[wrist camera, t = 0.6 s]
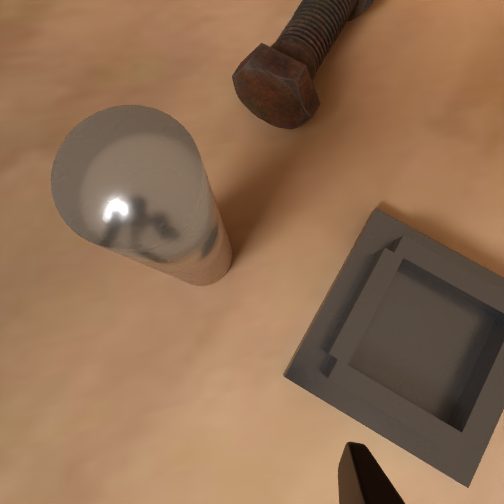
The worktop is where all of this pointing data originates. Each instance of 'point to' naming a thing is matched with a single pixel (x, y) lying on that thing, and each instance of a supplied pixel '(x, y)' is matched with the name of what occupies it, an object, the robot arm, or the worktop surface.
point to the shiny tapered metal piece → (142, 193)
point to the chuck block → (411, 346)
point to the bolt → (293, 63)
